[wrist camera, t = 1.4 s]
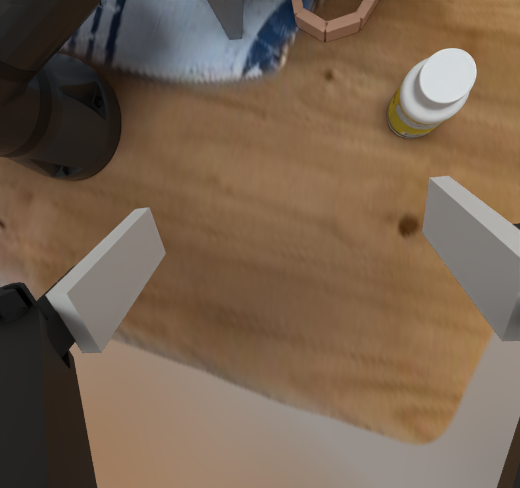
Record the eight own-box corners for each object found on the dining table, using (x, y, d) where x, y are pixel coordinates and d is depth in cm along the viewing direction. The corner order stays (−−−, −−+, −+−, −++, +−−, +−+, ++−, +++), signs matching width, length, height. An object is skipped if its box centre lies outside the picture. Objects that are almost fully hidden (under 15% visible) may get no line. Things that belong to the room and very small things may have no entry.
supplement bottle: (417, 75, 32) (457, 20, 23) (451, 114, 32) (505, 76, 23) (374, 112, 34) (395, 75, 24) (406, 150, 33) (440, 128, 24)
